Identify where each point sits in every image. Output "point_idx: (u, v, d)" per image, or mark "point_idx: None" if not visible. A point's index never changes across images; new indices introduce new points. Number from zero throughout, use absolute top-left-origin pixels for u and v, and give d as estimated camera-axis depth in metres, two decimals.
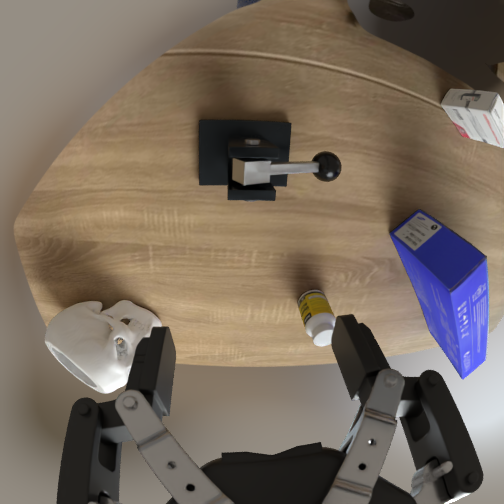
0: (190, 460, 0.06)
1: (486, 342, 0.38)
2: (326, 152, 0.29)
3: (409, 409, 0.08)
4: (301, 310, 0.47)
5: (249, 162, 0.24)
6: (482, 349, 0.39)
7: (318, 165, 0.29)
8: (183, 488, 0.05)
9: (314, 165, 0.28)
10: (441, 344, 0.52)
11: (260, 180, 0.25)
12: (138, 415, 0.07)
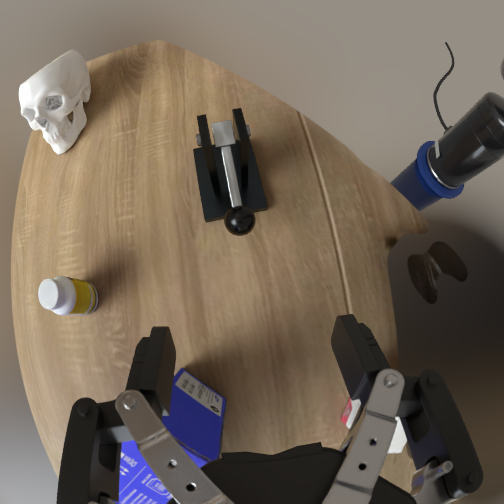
0: (190, 460, 0.06)
1: None
2: None
3: (409, 409, 0.08)
4: None
5: (231, 123, 0.28)
6: None
7: (239, 205, 0.31)
8: (183, 488, 0.05)
9: (238, 199, 0.30)
10: None
11: (216, 137, 0.28)
12: (138, 415, 0.07)
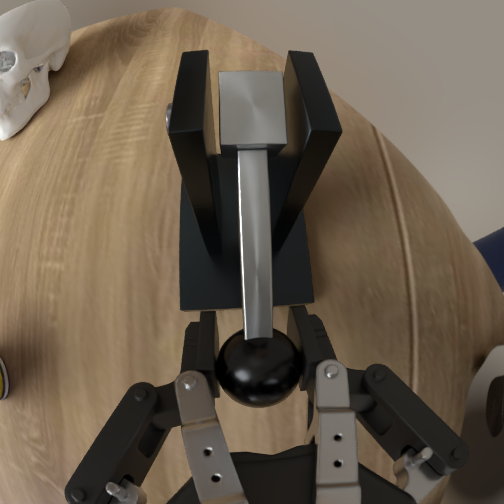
0: (227, 453, 0.06)
1: None
2: (299, 357, 0.11)
3: (356, 403, 0.09)
4: None
5: (281, 82, 0.08)
6: None
7: (266, 336, 0.10)
8: (208, 477, 0.05)
9: (266, 321, 0.10)
10: None
11: (227, 114, 0.08)
12: (194, 397, 0.08)
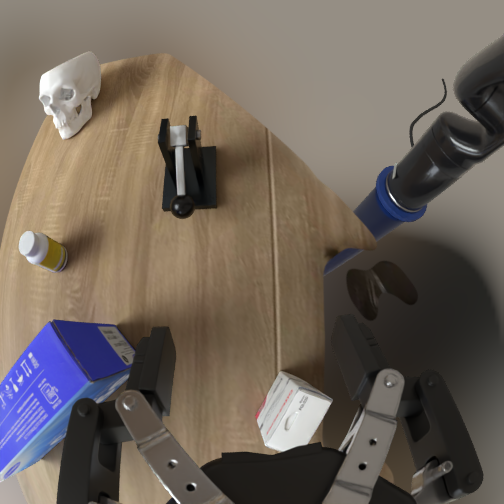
0: (190, 460, 0.06)
1: (2, 468, 0.14)
2: (194, 203, 0.38)
3: (409, 409, 0.08)
4: None
5: (185, 128, 0.34)
6: None
7: (183, 194, 0.37)
8: (183, 488, 0.05)
9: (183, 189, 0.37)
10: None
11: (172, 138, 0.34)
12: (138, 415, 0.07)
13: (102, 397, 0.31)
